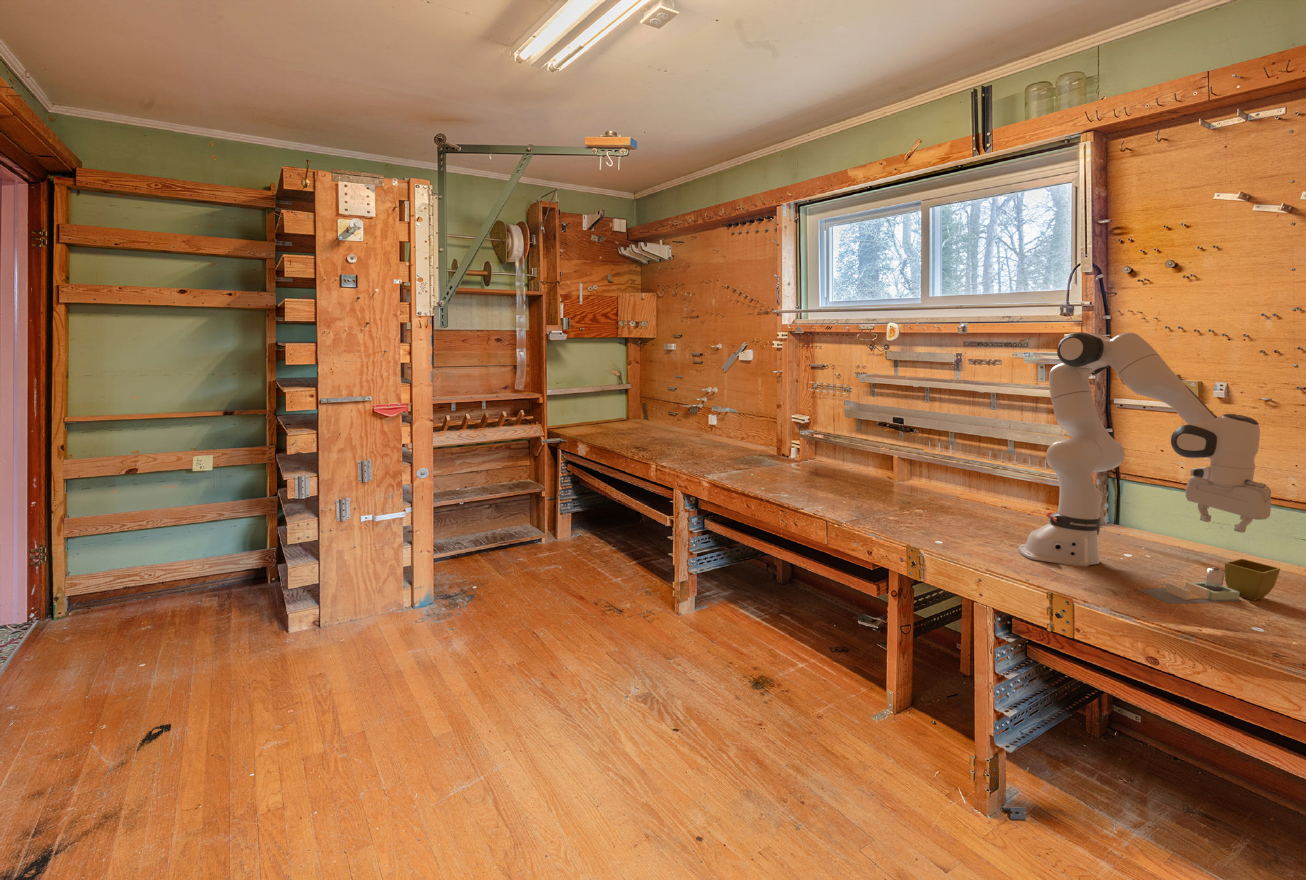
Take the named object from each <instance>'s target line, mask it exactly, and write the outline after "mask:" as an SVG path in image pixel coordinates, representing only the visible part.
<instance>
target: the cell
mask: <svg viewBox="0 0 1306 880" xmlns="http://www.w3.org/2000/svg"><path fill="white" fill-rule="evenodd" d="M1224 579H1225V569H1223V568H1219V567H1216V566H1211V567H1210V566H1209V567H1207V569H1206V575H1205V581H1204V582H1205V585H1204V588H1207V589H1209V590H1212V591H1222V586H1224V581H1225V580H1224Z"/></svg>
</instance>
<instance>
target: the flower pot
mask: <svg viewBox="0 0 1306 880" xmlns="http://www.w3.org/2000/svg"><path fill="white" fill-rule="evenodd" d="M1224 571H1225V574H1224V579H1225V580H1224V581H1225V585H1226V587H1228V588H1230V589H1233V590H1236V591H1238V592H1240V594H1239V598H1240V597H1242V598H1243V599H1247V600H1249V601H1258V600H1260V599H1263V598H1265V597H1266V596H1267V595H1269V594H1270V592H1271V591H1272V590H1273V589H1274V587H1275V585H1276V582H1277V580H1278V578H1279V574H1280V571H1281V568H1280V567H1277V566H1272V565H1270V564H1269V565H1268V564H1264V563H1260V562H1258V561H1253V560H1248V559H1246V558H1245V559H1244V558H1239V559H1235V560H1231V561H1226V562H1224Z"/></svg>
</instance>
